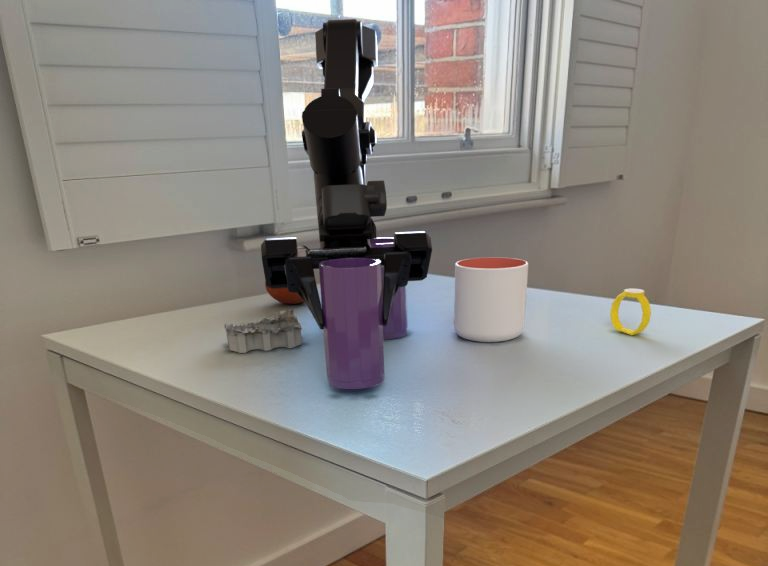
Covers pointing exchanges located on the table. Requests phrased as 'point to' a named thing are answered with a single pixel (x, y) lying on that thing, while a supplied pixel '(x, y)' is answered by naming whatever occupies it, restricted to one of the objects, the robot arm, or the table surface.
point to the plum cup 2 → (394, 301)
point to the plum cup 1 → (352, 321)
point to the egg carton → (265, 333)
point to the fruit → (284, 295)
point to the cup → (490, 298)
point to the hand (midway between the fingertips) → (353, 325)
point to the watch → (644, 304)
